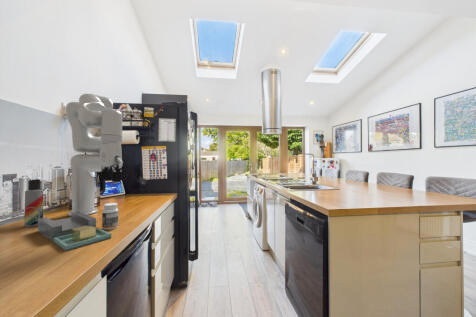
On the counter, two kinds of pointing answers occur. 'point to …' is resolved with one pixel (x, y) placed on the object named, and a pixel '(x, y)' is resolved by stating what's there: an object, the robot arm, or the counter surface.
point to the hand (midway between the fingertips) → (110, 180)
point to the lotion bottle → (33, 203)
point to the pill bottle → (110, 216)
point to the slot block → (64, 225)
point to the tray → (69, 243)
